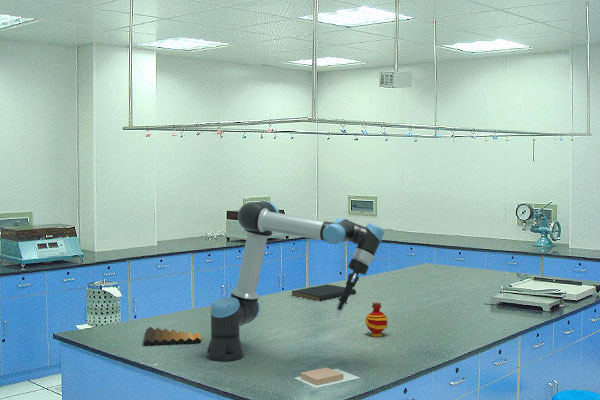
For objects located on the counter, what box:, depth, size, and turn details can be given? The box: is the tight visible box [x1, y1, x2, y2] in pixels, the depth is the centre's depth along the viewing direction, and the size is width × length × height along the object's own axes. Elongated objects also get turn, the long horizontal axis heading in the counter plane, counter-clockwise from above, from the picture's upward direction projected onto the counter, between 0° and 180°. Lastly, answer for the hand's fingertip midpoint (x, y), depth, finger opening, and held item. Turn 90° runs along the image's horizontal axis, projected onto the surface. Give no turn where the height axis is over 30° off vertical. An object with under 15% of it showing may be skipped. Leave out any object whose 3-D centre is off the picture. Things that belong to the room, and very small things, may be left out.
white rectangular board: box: [294, 368, 361, 389], centre depth 249 cm, size 20×14×1 cm
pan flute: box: [143, 326, 202, 347], centre depth 311 cm, size 25×3×25 cm
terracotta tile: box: [300, 366, 344, 385], centre depth 247 cm, size 2×10×12 cm
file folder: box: [291, 284, 357, 302], centre depth 418 cm, size 33×4×24 cm
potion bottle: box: [364, 302, 389, 338], centre depth 315 cm, size 10×10×15 cm
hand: (335, 317), depth 261 cm, fingers closed
